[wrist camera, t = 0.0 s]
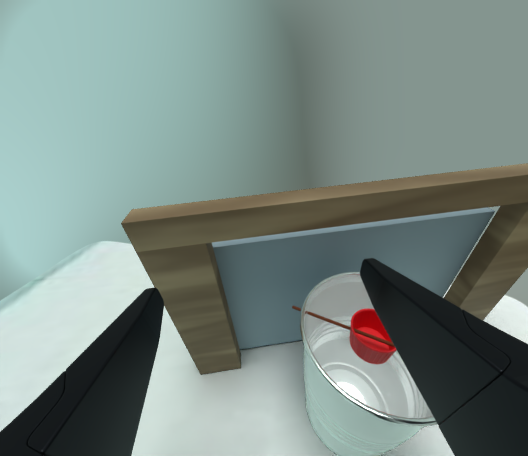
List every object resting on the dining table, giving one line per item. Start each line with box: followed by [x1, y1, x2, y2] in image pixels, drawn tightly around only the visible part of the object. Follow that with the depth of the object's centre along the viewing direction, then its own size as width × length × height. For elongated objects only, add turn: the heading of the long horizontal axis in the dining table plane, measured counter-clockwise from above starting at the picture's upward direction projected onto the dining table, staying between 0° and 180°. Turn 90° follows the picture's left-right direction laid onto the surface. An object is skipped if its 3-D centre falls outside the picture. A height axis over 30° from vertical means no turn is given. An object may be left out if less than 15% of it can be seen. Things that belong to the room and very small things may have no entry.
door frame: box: [121, 163, 528, 375], centre depth 18 cm, size 2×29×18 cm, turn 97°
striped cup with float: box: [292, 271, 437, 456], centre depth 16 cm, size 10×8×12 cm
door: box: [212, 207, 495, 349], centre depth 21 cm, size 2×21×14 cm, turn 97°
